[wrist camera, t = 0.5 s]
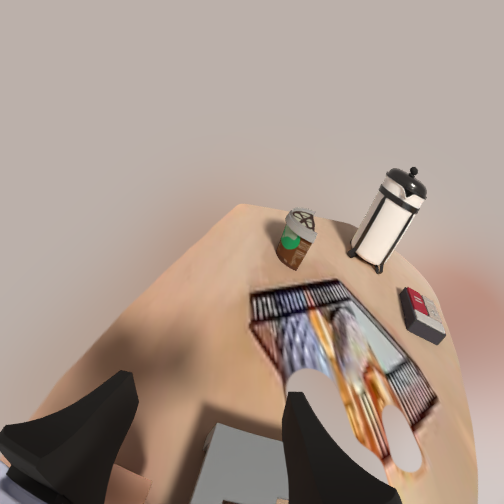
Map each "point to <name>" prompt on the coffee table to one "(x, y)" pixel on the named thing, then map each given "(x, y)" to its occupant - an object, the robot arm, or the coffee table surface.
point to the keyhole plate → (241, 469)
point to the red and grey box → (422, 316)
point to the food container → (296, 237)
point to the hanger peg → (126, 487)
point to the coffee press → (388, 217)
